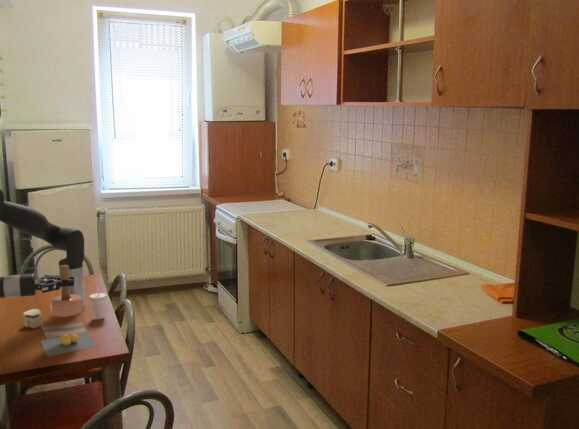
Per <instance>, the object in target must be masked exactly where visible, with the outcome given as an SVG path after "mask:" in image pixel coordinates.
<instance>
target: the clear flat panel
mask: <svg viewBox="0 0 579 429" xmlns="http://www.w3.org/2000/svg"><path fill="white" fill-rule="evenodd" d="M40 329H41V330H42V333H43V335H44V336H45V340H48V339H53V338H59V337H61V336H62V335H64V334H67V335H68V336H70V335H73V334H81V333H86V332H88V330H87V328H86V327H85V326H84V324H83V322H82V321H81V319H78V320H71V321H64V322H61V323H53V324H48V325H43V326H40ZM88 333H89V332H88Z"/></svg>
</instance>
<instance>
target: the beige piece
mask: <svg viewBox="0 0 579 429" xmlns="http://www.w3.org/2000/svg"><path fill="white" fill-rule="evenodd" d="M42 313H43V312H42V310H40V309H38V308H32V309H28V310H26V311H24V312H22V314H23V318H24V321H23V323H24V325H25V327H26V328H31V329H37V328H39V327H40V328H41V326H42V325H43V323H44V320H43V319H42V318H43V315H42Z"/></svg>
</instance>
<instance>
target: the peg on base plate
mask: <svg viewBox="0 0 579 429" xmlns="http://www.w3.org/2000/svg"><path fill="white" fill-rule="evenodd" d="M59 269H60V274H59V275H60V280H70V279H69V265H60V266H59V265H58V270H59ZM49 306H50V313H51V316H52V317H62V318H65V317H70V316H75V315H79V314H80V313H81V312H83V311H84V307H83V301H82V299H81V296H79V295H74V294H70V286H67V287H63V286H62V288H61V289H60V295H57V296H54V297H53V298H51V299H50V301H49Z"/></svg>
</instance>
